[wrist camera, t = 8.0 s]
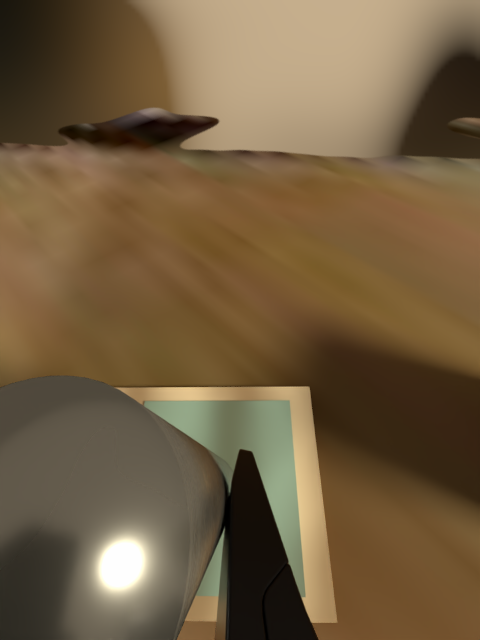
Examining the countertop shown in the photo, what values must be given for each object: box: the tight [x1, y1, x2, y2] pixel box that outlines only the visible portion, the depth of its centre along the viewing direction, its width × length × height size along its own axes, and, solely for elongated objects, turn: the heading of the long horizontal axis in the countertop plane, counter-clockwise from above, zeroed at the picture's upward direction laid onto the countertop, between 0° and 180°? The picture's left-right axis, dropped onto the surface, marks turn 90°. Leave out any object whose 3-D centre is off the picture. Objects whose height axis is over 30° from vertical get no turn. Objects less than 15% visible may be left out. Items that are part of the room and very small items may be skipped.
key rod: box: [0, 376, 233, 640], centre depth 8 cm, size 3×3×13 cm
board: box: [117, 387, 337, 623], centre depth 16 cm, size 26×12×4 cm, turn 90°
